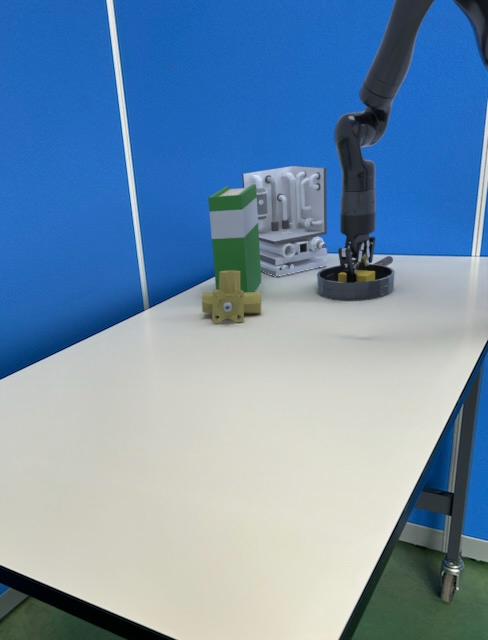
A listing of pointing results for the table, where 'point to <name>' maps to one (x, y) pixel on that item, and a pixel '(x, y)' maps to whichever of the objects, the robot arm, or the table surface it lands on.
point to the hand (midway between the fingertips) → (356, 286)
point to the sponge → (358, 276)
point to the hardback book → (236, 235)
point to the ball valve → (230, 299)
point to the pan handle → (385, 261)
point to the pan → (355, 284)
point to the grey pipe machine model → (290, 217)
